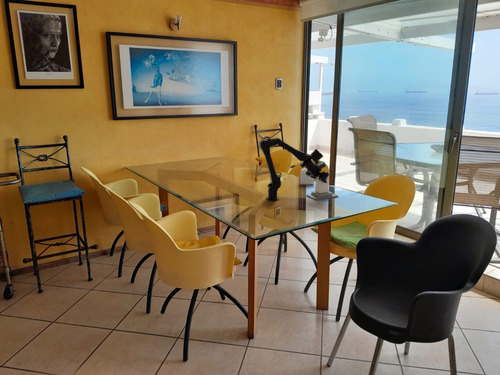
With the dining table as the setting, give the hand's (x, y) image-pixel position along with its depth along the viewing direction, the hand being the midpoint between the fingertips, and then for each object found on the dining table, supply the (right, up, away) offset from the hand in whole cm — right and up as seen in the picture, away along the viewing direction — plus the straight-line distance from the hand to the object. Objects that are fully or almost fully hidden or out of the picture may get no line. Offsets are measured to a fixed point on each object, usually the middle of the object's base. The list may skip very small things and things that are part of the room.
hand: (323, 182), depth 246 cm
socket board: (-1, -10, +2) cm, 10 cm away
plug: (-1, -7, +1) cm, 7 cm away
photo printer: (-6, -1, +35) cm, 36 cm away
